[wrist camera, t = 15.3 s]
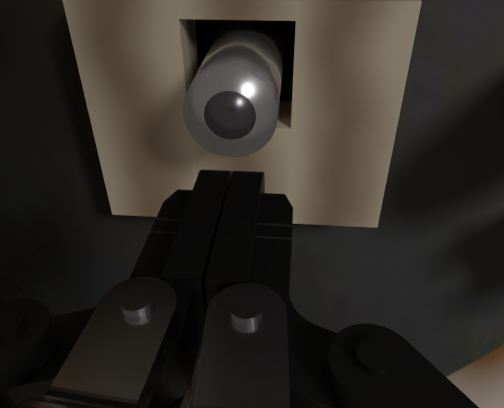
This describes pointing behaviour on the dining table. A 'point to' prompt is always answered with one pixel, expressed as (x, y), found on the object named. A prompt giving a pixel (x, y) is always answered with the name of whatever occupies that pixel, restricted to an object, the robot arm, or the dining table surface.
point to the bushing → (237, 90)
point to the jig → (290, 112)
